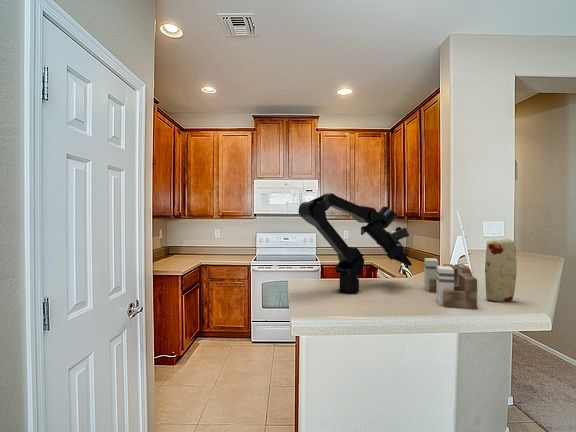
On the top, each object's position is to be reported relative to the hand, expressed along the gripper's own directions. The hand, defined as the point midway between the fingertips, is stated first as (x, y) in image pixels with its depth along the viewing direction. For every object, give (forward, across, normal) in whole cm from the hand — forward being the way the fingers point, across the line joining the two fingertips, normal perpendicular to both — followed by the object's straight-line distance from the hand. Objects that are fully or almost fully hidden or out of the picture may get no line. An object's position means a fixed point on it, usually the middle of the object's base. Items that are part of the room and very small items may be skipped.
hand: (410, 265), depth 123 cm
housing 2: (+15, -18, -2) cm, 23 cm away
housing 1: (+14, -1, -1) cm, 14 cm away
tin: (+20, +7, -7) cm, 22 cm away
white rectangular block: (+12, -18, 0) cm, 21 cm away
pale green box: (+11, 0, +1) cm, 11 cm away
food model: (+25, -10, -12) cm, 29 cm away
